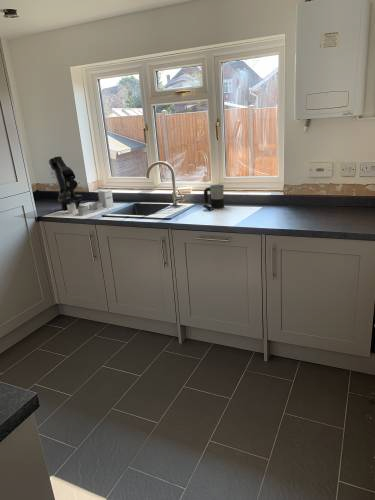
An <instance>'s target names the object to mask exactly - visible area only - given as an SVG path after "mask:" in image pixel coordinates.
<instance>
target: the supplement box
mask: <svg viewBox="0 0 375 500" xmlns="http://www.w3.org/2000/svg"><path fill="white" fill-rule="evenodd" d="M97 195H98V202H102V204H103V207H105V208H107V209H108V208H113V207H114V200H113V199H114V198H113V190H112V189H102V190H98V191H97Z"/></svg>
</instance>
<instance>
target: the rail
mask: <svg viewBox="0 0 375 500" xmlns="http://www.w3.org/2000/svg"><path fill="white" fill-rule="evenodd" d="M91 204H92V205H93V209H89V205H84V206H80V207H78V212H76V216H81V217H82V216H86V215H90V214H93V213H96V212H101V211H103V210H106V209H105V207H103V204H102V202H99V201H94V202H93V203H91Z"/></svg>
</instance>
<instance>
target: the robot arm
mask: <svg viewBox="0 0 375 500" xmlns="http://www.w3.org/2000/svg"><path fill="white" fill-rule="evenodd" d="M48 164H49V166H50V168H51V169H52V170H53V171H54V174H55V177H56V182H57V183H58V188H59V190H58V197H57V201H58V203H60V206H61V209H60V211H68V209H67V205H68V204H71V202H74V203H75V206H76V209H78V207H79V204H81V201H83V199H84V196H83V195H82V194H76V193H75V190H76V188H77V187H78V181H76V180H75V179H76V175H75V173H74V171H73V170H72V168H71V167H70V166H67V164H66V163H65V162H64V160H63V157H62V156H59V155H58V156H54V157H53V158H49V160H48ZM72 200H73V201H72Z"/></svg>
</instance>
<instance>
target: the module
mask: <svg viewBox="0 0 375 500" xmlns="http://www.w3.org/2000/svg"><path fill="white" fill-rule="evenodd" d="M67 209H68V210H67V213H68V214H75V213H78V209H76V206H75V202H74V203H73V202H72V203H71V202H70V204H68V205H67Z"/></svg>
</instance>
